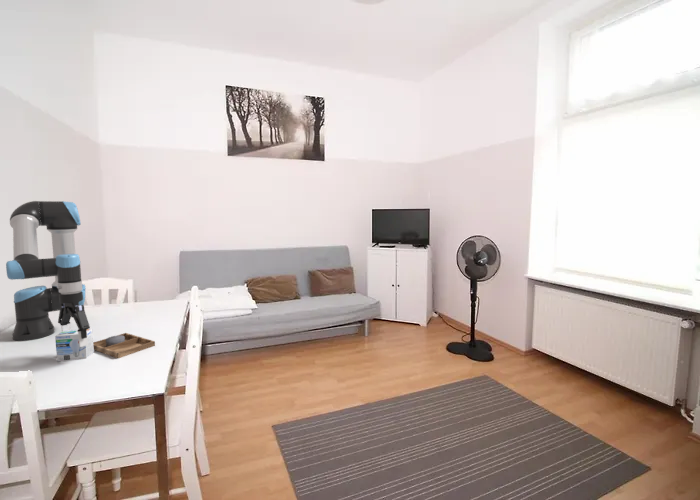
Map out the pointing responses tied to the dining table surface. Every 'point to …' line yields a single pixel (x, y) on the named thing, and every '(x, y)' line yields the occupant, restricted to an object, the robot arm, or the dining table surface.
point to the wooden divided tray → (124, 346)
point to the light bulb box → (73, 345)
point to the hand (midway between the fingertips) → (75, 343)
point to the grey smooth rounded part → (114, 340)
